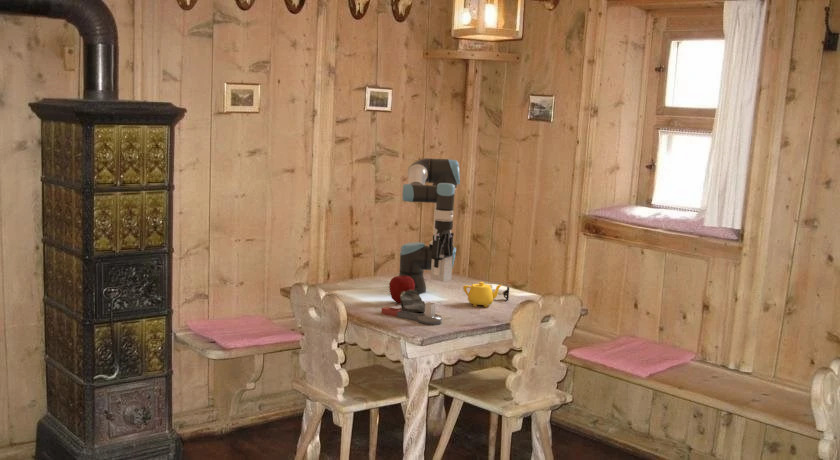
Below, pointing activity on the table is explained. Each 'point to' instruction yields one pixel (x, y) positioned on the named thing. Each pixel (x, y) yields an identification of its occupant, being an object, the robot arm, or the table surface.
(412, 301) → the rock
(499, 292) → the valve
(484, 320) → the table surface
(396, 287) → the apple
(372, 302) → the table surface
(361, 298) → the table surface
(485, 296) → the teapot
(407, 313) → the ratchet
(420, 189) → the robot arm
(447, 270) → the grey upright rectangular block
